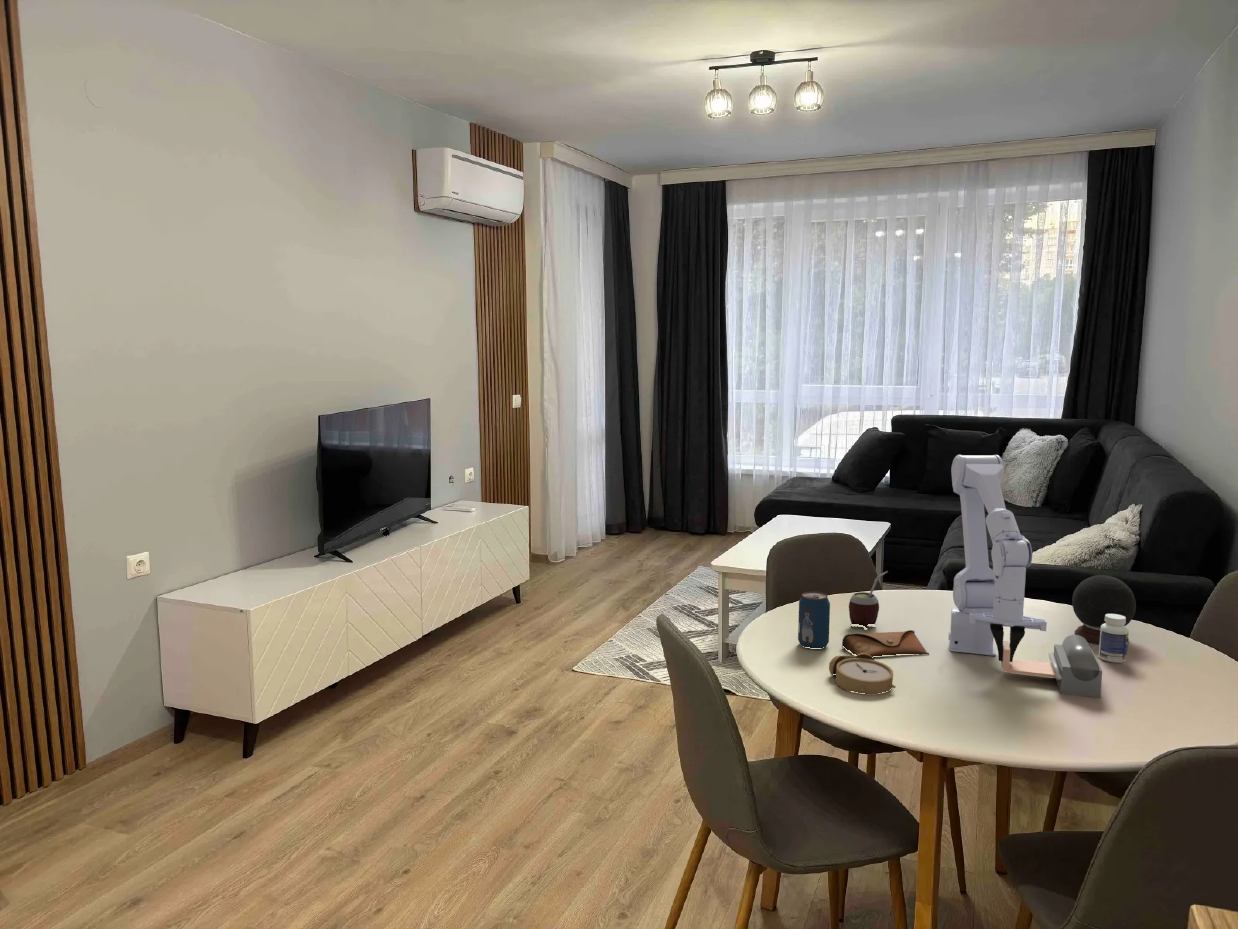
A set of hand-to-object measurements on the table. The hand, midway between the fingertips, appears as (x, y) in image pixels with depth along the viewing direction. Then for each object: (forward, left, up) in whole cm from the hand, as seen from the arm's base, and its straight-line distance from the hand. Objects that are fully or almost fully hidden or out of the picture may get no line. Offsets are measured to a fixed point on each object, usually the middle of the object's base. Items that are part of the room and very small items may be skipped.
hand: (1005, 660), depth 187 cm
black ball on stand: (+23, +33, -3) cm, 40 cm away
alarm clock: (-28, -14, -4) cm, 32 cm away
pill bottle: (+23, +18, -3) cm, 29 cm away
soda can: (-40, +5, -3) cm, 41 cm away
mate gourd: (-30, +23, -3) cm, 38 cm away
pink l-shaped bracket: (+6, 0, -1) cm, 7 cm away
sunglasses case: (-24, +7, -4) cm, 25 cm away
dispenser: (+13, 0, -3) cm, 14 cm away
